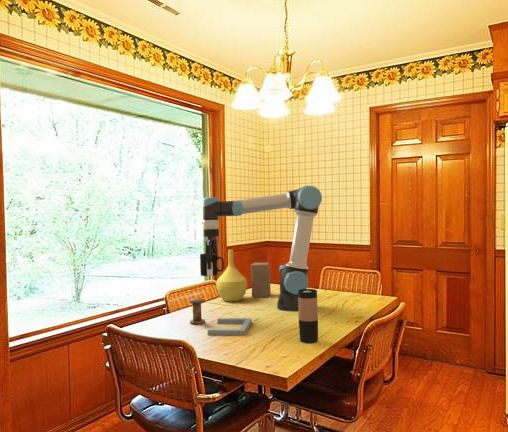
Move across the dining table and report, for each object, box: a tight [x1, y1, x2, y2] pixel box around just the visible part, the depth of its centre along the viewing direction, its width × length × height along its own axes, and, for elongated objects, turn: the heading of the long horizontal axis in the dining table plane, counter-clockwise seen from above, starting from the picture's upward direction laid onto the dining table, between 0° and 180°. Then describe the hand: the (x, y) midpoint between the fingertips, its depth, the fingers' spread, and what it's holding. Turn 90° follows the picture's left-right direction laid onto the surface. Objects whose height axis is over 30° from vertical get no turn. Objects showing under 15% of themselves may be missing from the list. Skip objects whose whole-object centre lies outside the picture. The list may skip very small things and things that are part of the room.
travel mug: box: [297, 288, 319, 344], centre depth 167 cm, size 8×8×20 cm
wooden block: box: [250, 262, 272, 299], centre depth 256 cm, size 10×10×20 cm
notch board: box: [207, 317, 253, 336], centre depth 188 cm, size 16×20×2 cm
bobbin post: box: [189, 297, 206, 326], centre depth 199 cm, size 7×7×11 cm
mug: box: [199, 252, 225, 277], centre depth 207 cm, size 8×12×10 cm
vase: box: [216, 249, 248, 303], centre depth 247 cm, size 18×18×30 cm
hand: (212, 274), depth 207 cm, fingers closed on mug, 8 cm apart
